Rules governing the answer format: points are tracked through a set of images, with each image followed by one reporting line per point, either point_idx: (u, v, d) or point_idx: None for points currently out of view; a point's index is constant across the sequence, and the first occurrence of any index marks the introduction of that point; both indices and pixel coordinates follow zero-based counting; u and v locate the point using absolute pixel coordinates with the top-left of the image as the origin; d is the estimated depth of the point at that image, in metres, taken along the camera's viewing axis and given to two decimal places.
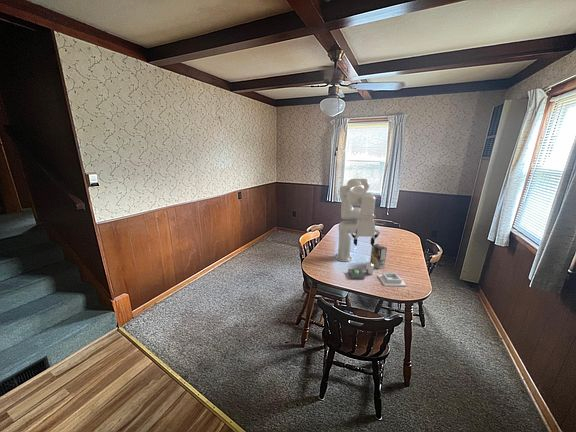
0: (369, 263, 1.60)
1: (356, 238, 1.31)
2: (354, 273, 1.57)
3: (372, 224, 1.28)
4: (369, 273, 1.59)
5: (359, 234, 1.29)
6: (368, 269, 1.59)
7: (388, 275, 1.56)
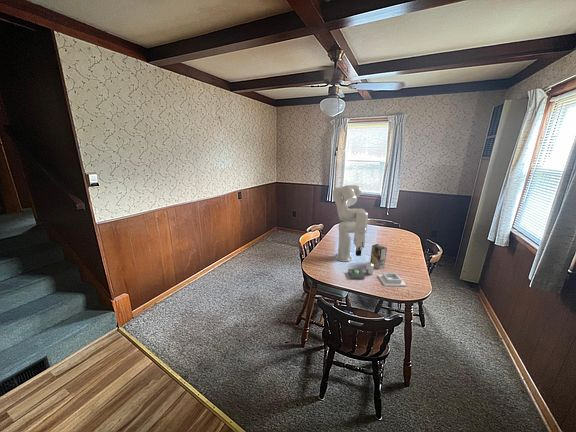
0: (369, 263, 1.60)
1: (361, 249, 1.53)
2: (354, 273, 1.57)
3: None
4: (369, 273, 1.59)
5: None
6: (368, 269, 1.59)
7: (388, 275, 1.56)
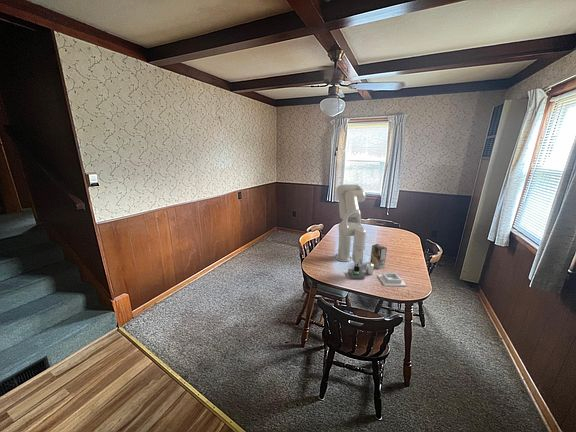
0: (369, 263, 1.60)
1: None
2: (354, 273, 1.57)
3: None
4: (369, 273, 1.59)
5: None
6: (368, 269, 1.59)
7: (388, 275, 1.56)
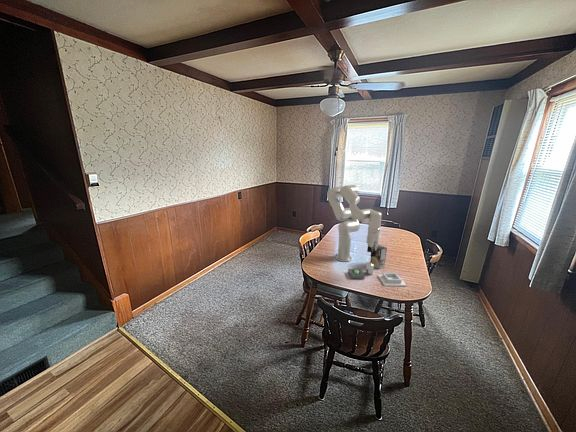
0: (369, 263, 1.60)
1: (375, 250, 1.53)
2: (354, 273, 1.57)
3: None
4: (369, 273, 1.59)
5: None
6: (368, 269, 1.59)
7: (388, 275, 1.56)
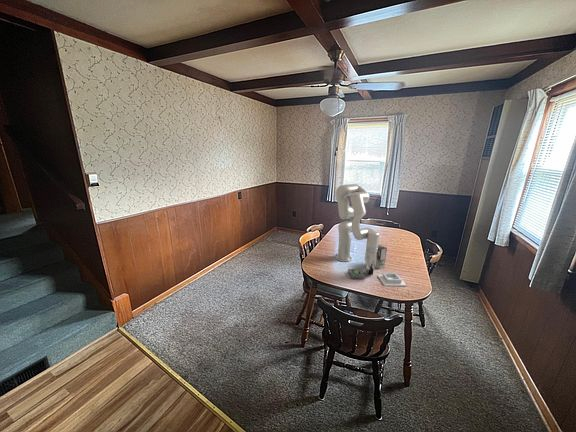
0: None
1: (373, 268, 1.57)
2: (354, 273, 1.57)
3: None
4: None
5: None
6: (368, 269, 1.59)
7: (388, 275, 1.56)
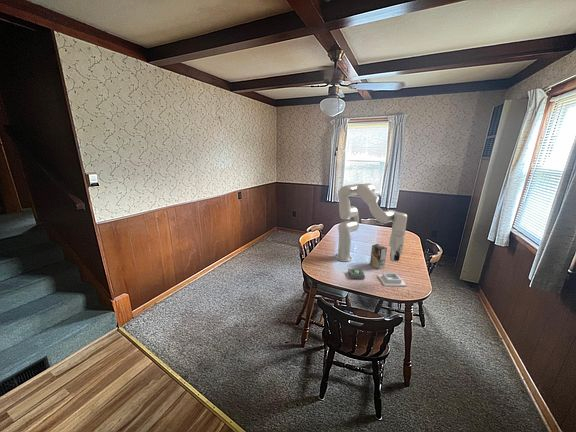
0: None
1: (399, 254, 1.44)
2: (354, 273, 1.57)
3: None
4: None
5: None
6: (394, 254, 1.46)
7: (388, 275, 1.56)
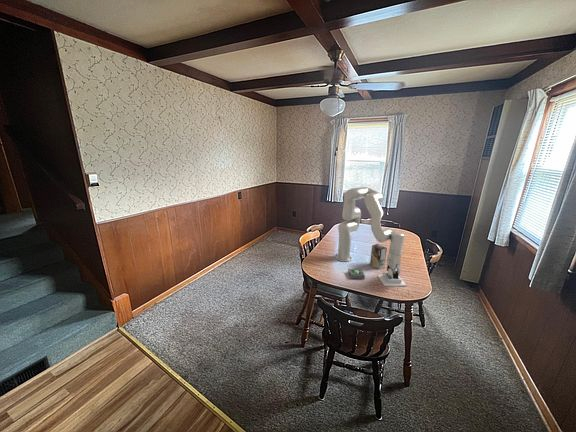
0: None
1: None
2: (354, 273, 1.57)
3: None
4: None
5: None
6: (391, 274, 1.50)
7: None
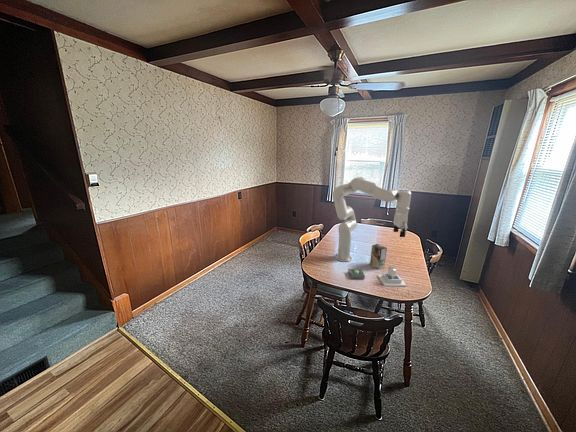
0: (391, 268, 1.51)
1: None
2: (354, 273, 1.57)
3: None
4: None
5: None
6: (391, 274, 1.50)
7: None
